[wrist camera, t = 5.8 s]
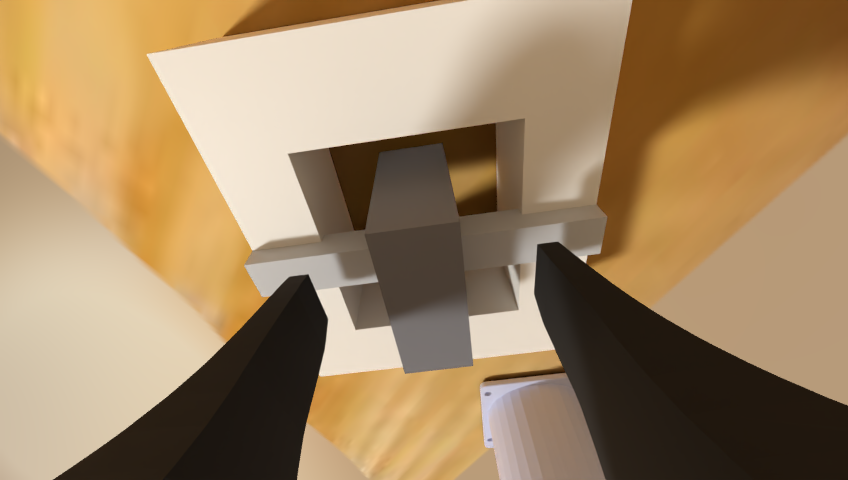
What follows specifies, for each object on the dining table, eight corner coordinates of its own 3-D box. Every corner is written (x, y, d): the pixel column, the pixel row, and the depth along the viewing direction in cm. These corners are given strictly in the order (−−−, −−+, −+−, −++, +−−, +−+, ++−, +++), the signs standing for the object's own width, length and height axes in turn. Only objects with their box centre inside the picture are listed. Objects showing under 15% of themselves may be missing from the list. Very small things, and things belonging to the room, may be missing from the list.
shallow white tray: (542, 285, 20) (578, 362, 15) (335, 311, 20) (317, 392, 16) (568, -22, 11) (657, -31, 7) (221, 37, 12) (125, 59, 8)
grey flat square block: (455, 264, 16) (473, 365, 12) (406, 271, 17) (404, 373, 12) (442, 143, 13) (460, 221, 8) (379, 152, 13) (364, 234, 9)
